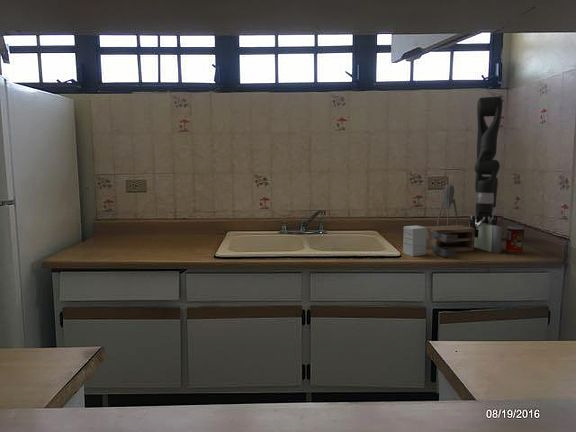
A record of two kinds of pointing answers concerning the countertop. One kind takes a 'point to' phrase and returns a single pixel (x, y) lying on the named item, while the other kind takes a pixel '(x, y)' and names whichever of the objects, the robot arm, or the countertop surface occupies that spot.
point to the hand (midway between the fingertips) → (482, 236)
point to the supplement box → (414, 240)
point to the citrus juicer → (448, 202)
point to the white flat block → (489, 238)
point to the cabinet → (449, 239)
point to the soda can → (514, 239)
